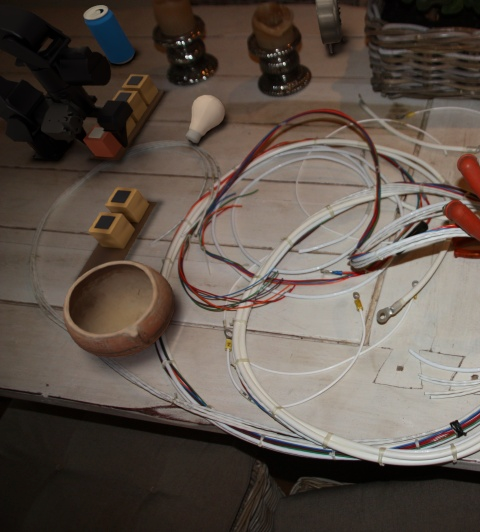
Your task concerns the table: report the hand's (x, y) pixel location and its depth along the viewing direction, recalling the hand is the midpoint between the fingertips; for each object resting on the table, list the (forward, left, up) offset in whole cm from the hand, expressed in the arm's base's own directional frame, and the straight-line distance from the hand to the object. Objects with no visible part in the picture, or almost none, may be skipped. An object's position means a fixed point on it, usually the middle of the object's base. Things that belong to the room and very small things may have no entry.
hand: (107, 145), depth 113 cm
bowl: (+26, -38, -2) cm, 46 cm away
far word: (0, +8, -2) cm, 8 cm away
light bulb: (+19, +8, -2) cm, 21 cm away
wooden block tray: (+14, -22, -2) cm, 26 cm away
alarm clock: (+39, +39, -2) cm, 55 cm away
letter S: (0, 0, -1) cm, 1 cm away
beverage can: (-14, +31, -2) cm, 34 cm away
